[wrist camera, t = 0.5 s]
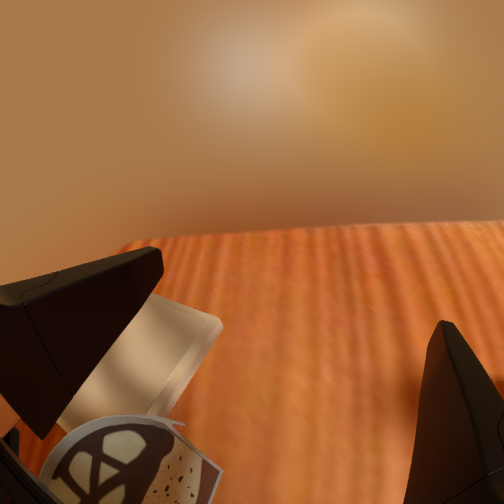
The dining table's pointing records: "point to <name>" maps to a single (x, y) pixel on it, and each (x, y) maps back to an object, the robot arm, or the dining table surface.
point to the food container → (129, 464)
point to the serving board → (145, 364)
